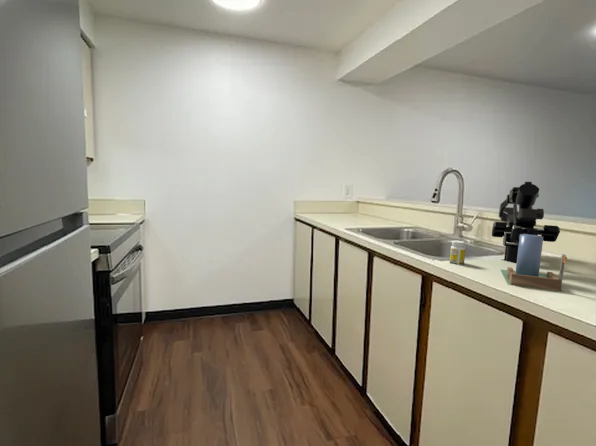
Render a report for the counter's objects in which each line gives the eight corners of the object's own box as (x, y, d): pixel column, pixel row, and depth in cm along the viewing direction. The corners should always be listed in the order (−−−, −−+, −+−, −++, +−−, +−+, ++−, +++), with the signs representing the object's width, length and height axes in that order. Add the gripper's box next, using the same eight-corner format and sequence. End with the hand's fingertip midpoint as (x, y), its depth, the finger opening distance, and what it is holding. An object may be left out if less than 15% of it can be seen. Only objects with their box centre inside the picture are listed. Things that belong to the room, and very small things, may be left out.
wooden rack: (506, 276, 107) (510, 244, 106) (552, 282, 102) (556, 249, 101) (511, 286, 96) (515, 251, 95) (563, 293, 92) (568, 256, 90)
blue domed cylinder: (510, 275, 109) (515, 234, 107) (524, 273, 111) (528, 233, 109) (529, 280, 103) (534, 237, 101) (543, 279, 105) (548, 237, 103)
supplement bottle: (462, 263, 125) (464, 240, 124) (465, 266, 120) (467, 243, 119) (448, 262, 126) (450, 239, 125) (450, 265, 121) (452, 242, 120)
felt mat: (500, 271, 116) (500, 269, 115) (546, 276, 110) (546, 274, 110) (507, 286, 98) (507, 284, 98) (563, 294, 93) (563, 291, 93)
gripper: (496, 198, 119) (495, 234, 110) (562, 201, 111) (567, 240, 102) (491, 218, 127) (491, 253, 118) (553, 222, 119) (557, 260, 111)
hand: (525, 251), depth 112 cm, fingers closed
